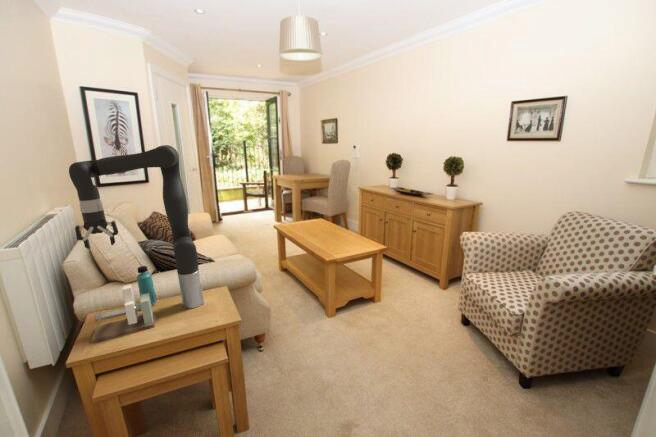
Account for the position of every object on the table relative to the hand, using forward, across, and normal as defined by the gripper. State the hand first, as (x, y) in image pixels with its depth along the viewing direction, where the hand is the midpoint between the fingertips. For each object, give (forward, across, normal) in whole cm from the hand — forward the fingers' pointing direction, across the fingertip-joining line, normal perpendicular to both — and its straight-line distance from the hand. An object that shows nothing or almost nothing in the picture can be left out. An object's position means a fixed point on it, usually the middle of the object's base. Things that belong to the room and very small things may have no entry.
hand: (100, 246), depth 134 cm
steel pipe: (+28, -5, +13) cm, 31 cm away
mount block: (+33, -14, +13) cm, 38 cm away
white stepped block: (+31, -8, +13) cm, 34 cm away
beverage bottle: (+34, -13, -4) cm, 37 cm away
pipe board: (+34, -4, +13) cm, 37 cm away
